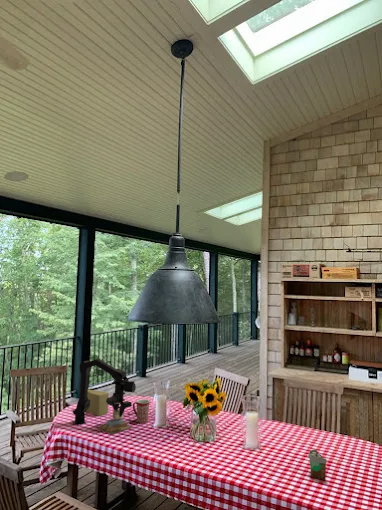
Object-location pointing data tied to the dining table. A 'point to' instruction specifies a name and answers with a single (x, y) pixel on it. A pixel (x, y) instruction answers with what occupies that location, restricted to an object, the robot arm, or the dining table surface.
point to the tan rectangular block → (117, 414)
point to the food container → (317, 465)
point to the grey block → (115, 422)
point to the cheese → (97, 402)
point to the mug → (141, 410)
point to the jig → (114, 428)
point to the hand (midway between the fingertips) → (118, 416)
